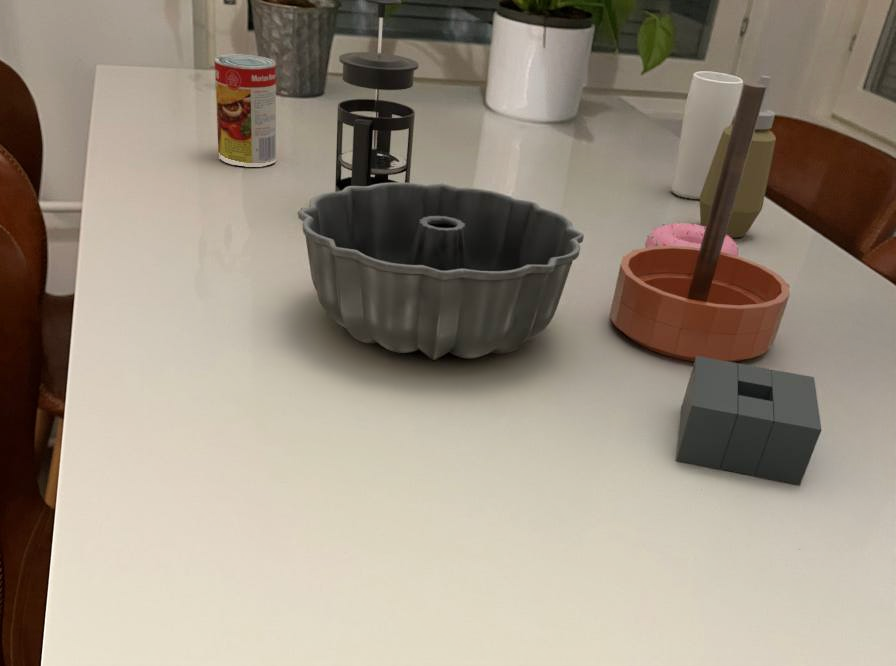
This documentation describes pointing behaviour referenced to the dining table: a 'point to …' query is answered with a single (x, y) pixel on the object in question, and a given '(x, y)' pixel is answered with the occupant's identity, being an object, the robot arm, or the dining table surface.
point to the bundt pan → (437, 266)
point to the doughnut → (685, 237)
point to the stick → (727, 189)
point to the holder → (749, 420)
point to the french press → (378, 75)
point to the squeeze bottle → (744, 173)
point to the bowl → (698, 305)
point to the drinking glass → (703, 128)
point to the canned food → (246, 107)
